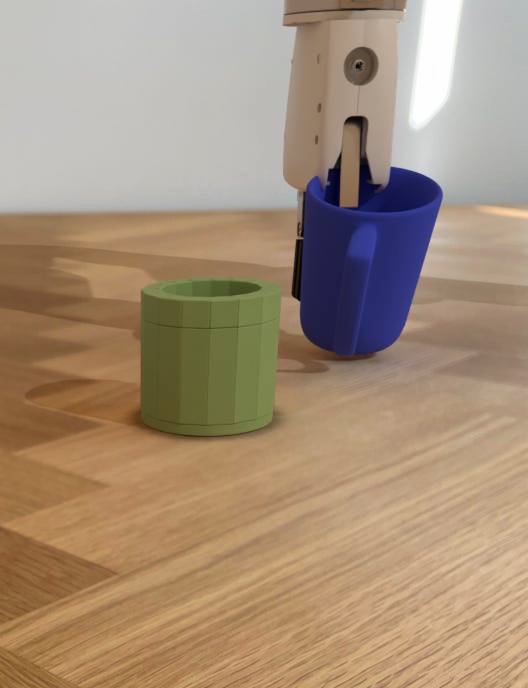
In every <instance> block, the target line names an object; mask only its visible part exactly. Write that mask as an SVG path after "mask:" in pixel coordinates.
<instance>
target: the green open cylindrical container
mask: <svg viewBox="0 0 528 688" xmlns="http://www.w3.org/2000/svg"><path fill="white" fill-rule="evenodd" d="M282 288H283V287H282V286H281V285H279V284H278V283H276V282H274V281H268V280H264V279H259V278H249V277H238V276H237V277H236V276H202V277H201V276H200V277H185V278H184V277H183V278H175V279H168V280H167V279H166V280H161V281H157V282H153V283H149V284H147V285H145V286H144V287H142V288H141V289H140V385H139V386H140V392H139V393H140V394H139V395H140V398H139V399H140V402H139V403H140V404H139V405H140V409H141V410H140V411H141V413H140V414H141V416H140V417H141V421H142V422H143V423H144V424H145V425H146V426H148V427H149V428H152V429H155V430H157V431H160V432H164V433H168V434H175V435H182V436H193V437H194V436H195V437H217V436H218V437H221V436H233V435H239V434H240V435H241V434H245V433H249V432H253V431H257V430H260V429H262V428H264V427H266V426H268V425H269V424H271V422H272V421H273V416H274V408H275V404H276V389H277V374H278V373H277V372H278V359H279V358H278V355H279V341H280V326H281V325H280V324H281V308H282V307H281V306H282V290H283V289H282Z"/></svg>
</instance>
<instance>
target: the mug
mask: <svg viewBox="0 0 528 688" xmlns="http://www.w3.org/2000/svg"><path fill="white" fill-rule="evenodd" d="M367 179H368V180H372V179H371V174H370V169H369V165H360V168H359V193H358V210H357V211H354V210H349V209H344V208H340V207H337V206H334V205H332V202H333V196H334V191H335V169H331V170H328V178H327V181H329V182H330V185H326V188H325V190H324V192H323V191H322V189H321V185H320V181H319V178H318V176H315V177H313V178H312V179H311V180H310V181H309V183H308V185H307V187H306V197H305V217H304V237H303V238H302V239H303V257H302V277H301V297H300V301H299V323H300V328H301V331H302V333H303V335H304V336H305V338H306V339H307V340H308V341H309V342H310V343H312V345H314V346H316V347H318V348H319V349H322V350H324V351H327V352H331V353H334V354H335V355H337V356H341V357H351V356H365V355H370V354H374V353H378V352H381V351H384V350H385V349H388V348H389V347H391V346H392V345H393V344H395V343H396V342H397V340H398V339H399V338H400V336H401V334H402V333H403V330H404V329H405V326H406V324H407V320H408V317H409V314H410V311H411V306H412V303H413V300H414V297H415V294H416V290H417V287H418V283H419V279H420V276H421V272H422V269H423V266H424V263H425V260H426V256H427V253H428V250H429V245H430V242H431V239H432V236H433V232H434V229H435V225H436V223H437V219H438V215H439V212H440V209H441V205H442V201H443V199H444V192H443V189H442V187H441V186H440V184H439V183H438V182H437V181H436V180H434V179H433V178H431V177H429V176H427V175H425V174H424V173H420V172H418V171H415V170H412V169H408V168H407V169H406V168H404V167H397V166H392V165H391V168H390V177H389V182H388V184H387V186H386V187H385V189H384V190H383V191H381V192H380V193H376V194H374V192H375V190H376V189H378V188H379V186H380V185H381V184H370V183H366V181H367Z"/></svg>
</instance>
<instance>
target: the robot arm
mask: <svg viewBox="0 0 528 688" xmlns="http://www.w3.org/2000/svg"><path fill="white" fill-rule="evenodd" d="M406 8H407V0H283V12H282V26H283V27H289V28H296V29H295V37H294V44H293V50H292V51H293V52H292V58H291V60H290V63H291V67H290V74H289V75H290V76H289V84H288V92H287V93H288V94H287V102H286V112H285V122H284V135H283V152H282V176H283V179H284V181H285V182H286V183H287V184H288V185H289V186H290V187H292V188H293V189H296V191H297V193H296V200H297V211H296V212H297V215H296V237H297V238H295V244H294V245H295V246H294V258H293V269H292V279H291V280H292V281H291V293H290V294H291V296H292V298H294V299H295V300H296V301H298V302H300V297H301V277H302V257H303V237H304V217H305V197H306V187H307V185H308V183H309V181H310V180H311V179H312V178H313V177H315V176H318V178H319V181H320V185H321V189H322V191H323V192H324V190H325V188H326V185H330V182H329V181H327V178H328V170H331V169H335V191H334V196H333V202H332V205H334V206H337V207H340V208H344V209H349V210H354V211H357V210H358V193H359V168H360V165H369V169H370V174H371V179H372V180H368V179H367V181H366V183H370V184H381V185H380V186H379V188H378V189H376V190H375V192H374V194H376V193H380V192H381V191H383V190H384V189H385V187H386V186H387V184H388V182H389V177H390V168H391V166H392V155H393V143H394V132H395V131H394V130H395V119H396V118H395V117H396V108H397V107H396V106H397V105H396V104H397V91H398V71H399V24H400V23H404V22H405V18H406V10H407V9H406Z"/></svg>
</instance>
